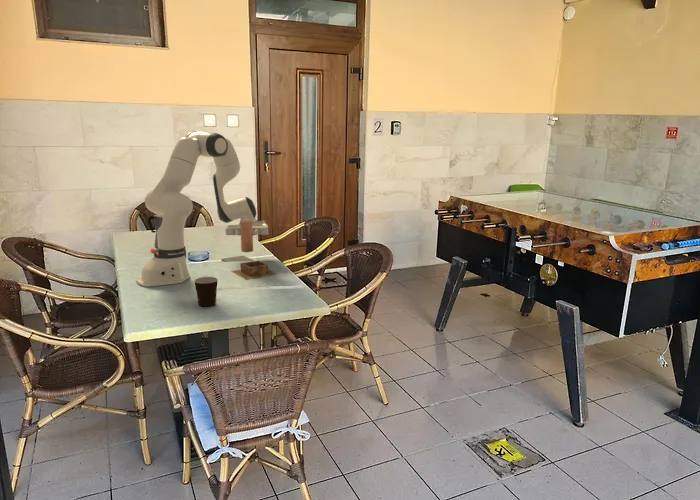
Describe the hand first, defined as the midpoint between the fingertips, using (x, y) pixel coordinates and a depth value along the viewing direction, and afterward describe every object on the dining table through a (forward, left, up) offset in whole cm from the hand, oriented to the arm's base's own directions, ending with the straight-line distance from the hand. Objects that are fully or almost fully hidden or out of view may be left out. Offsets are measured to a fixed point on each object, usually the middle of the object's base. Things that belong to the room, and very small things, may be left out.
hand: (246, 233), depth 246 cm
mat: (+3, +16, -18) cm, 24 cm away
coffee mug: (-33, -34, -18) cm, 50 cm away
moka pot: (-18, +66, -18) cm, 71 cm away
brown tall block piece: (0, 0, -9) cm, 9 cm away
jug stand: (-1, -10, -18) cm, 20 cm away
